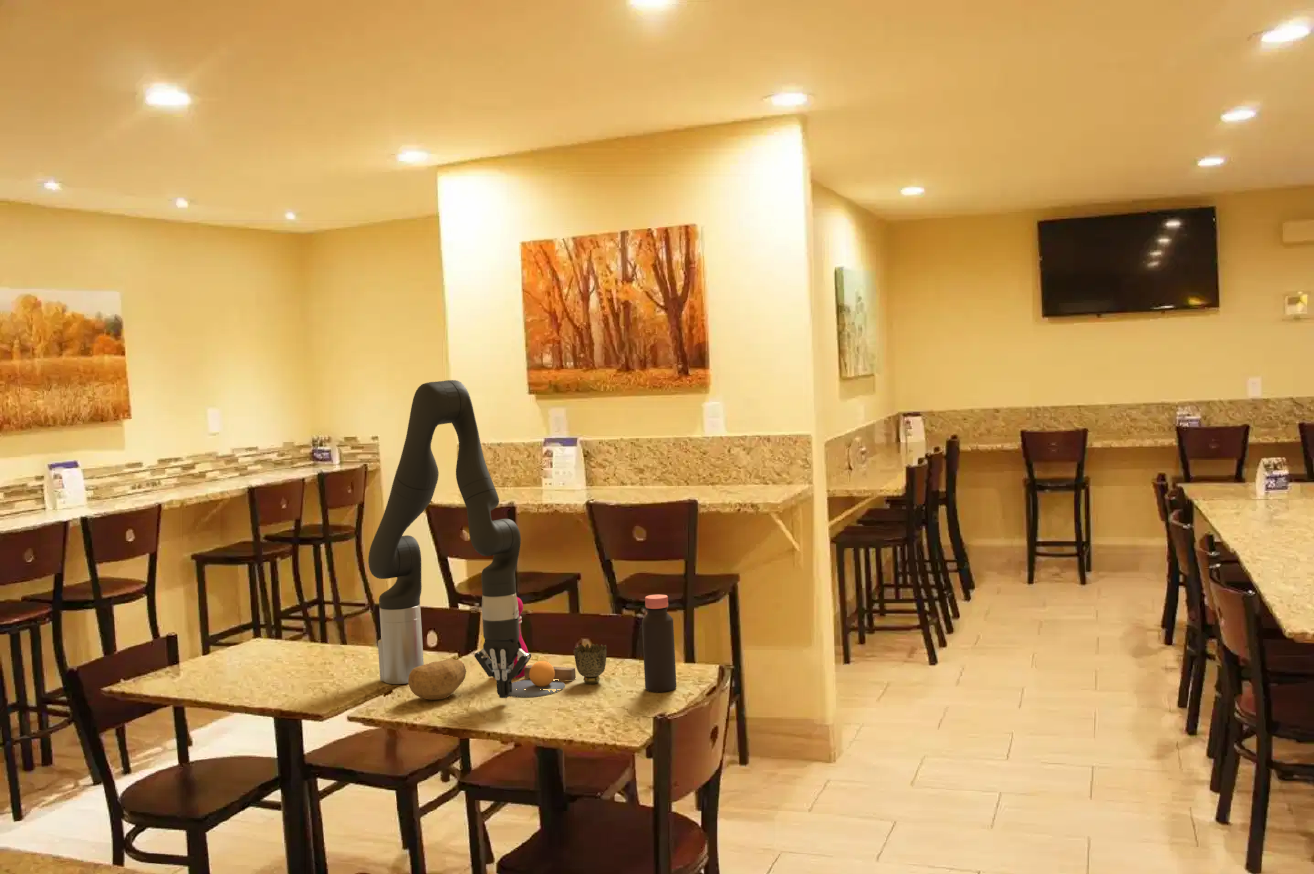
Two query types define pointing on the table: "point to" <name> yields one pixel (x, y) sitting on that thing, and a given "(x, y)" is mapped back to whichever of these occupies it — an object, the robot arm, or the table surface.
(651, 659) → the bottle
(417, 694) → the potato
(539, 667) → the ball
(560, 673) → the strip
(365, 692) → the table surface
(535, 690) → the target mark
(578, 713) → the table surface
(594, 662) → the cup
